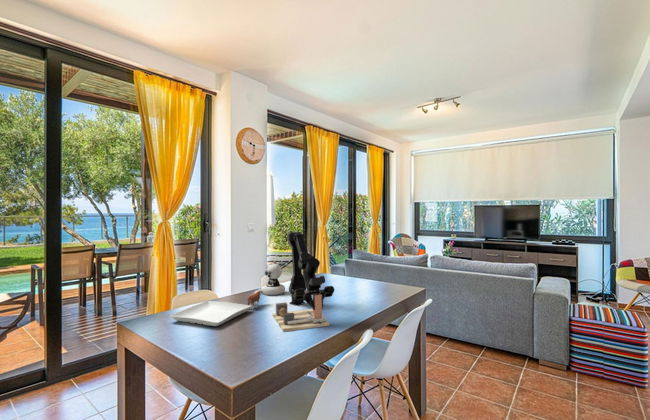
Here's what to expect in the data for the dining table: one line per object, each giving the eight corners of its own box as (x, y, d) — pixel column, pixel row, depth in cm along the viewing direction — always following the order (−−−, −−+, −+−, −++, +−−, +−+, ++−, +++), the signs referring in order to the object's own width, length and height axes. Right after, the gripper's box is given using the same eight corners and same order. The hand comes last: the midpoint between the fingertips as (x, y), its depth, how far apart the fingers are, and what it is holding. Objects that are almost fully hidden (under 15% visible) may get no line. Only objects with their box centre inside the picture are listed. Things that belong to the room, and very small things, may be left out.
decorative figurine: (256, 293, 204) (255, 261, 204) (272, 289, 216) (272, 258, 216) (273, 297, 195) (273, 263, 195) (290, 292, 207) (289, 260, 207)
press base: (272, 315, 161) (272, 303, 161) (313, 310, 168) (313, 299, 168) (283, 331, 140) (282, 317, 140) (329, 325, 147) (329, 311, 147)
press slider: (282, 322, 148) (282, 295, 148) (321, 317, 154) (321, 292, 154) (286, 326, 142) (285, 299, 142) (325, 321, 148) (325, 295, 148)
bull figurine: (264, 303, 183) (264, 288, 183) (251, 310, 170) (251, 294, 170) (258, 302, 184) (257, 287, 184) (244, 309, 172) (244, 293, 172)
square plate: (168, 323, 152) (168, 315, 152) (208, 307, 178) (208, 299, 178) (217, 330, 143) (217, 321, 143) (252, 312, 168) (252, 304, 168)
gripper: (294, 271, 151) (301, 301, 140) (333, 268, 157) (342, 297, 147) (290, 285, 158) (296, 315, 148) (327, 282, 164) (335, 310, 154)
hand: (318, 309), depth 149 cm, fingers closed on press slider, 3 cm apart
